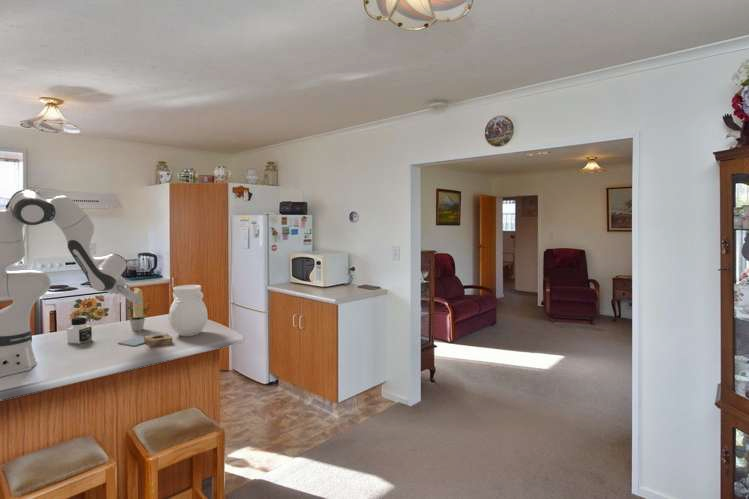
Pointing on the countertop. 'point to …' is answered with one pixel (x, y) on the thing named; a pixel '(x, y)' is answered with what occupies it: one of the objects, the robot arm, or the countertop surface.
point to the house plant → (137, 320)
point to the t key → (136, 307)
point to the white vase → (188, 310)
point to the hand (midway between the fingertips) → (139, 302)
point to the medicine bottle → (79, 331)
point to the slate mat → (133, 341)
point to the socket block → (158, 340)
